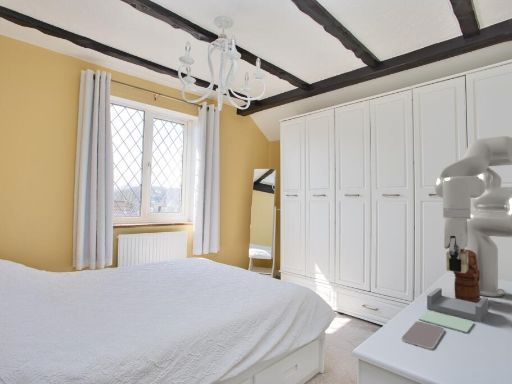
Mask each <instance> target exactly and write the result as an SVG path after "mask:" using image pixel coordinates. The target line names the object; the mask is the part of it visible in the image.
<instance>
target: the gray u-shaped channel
mask: <svg viewBox="0 0 512 384" xmlns="http://www.w3.org/2000/svg"><path fill="white" fill-rule="evenodd" d="M442 292H443V289H442V288H440V287H437V288H435V289H434V290H433V291H431V292H430V293H429V294H426V308H427V309H426V310H429V309H430V310H429V311H433V310H434V311H433V312H437V311H438V312H437V313H440V314H444V315H448V316H452V317H456V318H460V319H464V320H468V321H472V322H473V321H474V322H477V323H481V322H482V321H483V320H484V318H485V317H486V315H487V313H488V312H489V306H488V305H489V304H488V303H489V300H488V296H482V298H481V299H479V301H477V303H474V302H469V301H464V300H460V299H455V297H450V296H445V295H442V294H443V293H442Z"/></svg>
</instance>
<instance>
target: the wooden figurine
mask: <svg viewBox="0 0 512 384" xmlns="http://www.w3.org/2000/svg"><path fill="white" fill-rule="evenodd" d="M465 252H468V271H467V272H466V273H460V272H454V271H452V272H453V274H454V286H453V287H454V298H455V299H460V300H464V301H469V302H474V303H478V302H479V301H480V298H481V295H479V294H480V289H479V283H478V281H479V278H480V272H479V270H478V269H477V268H478V266H477V259H476V254H475V253H474V252H473V251H471V250H467V249H465Z"/></svg>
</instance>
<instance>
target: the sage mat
mask: <svg viewBox="0 0 512 384" xmlns="http://www.w3.org/2000/svg"><path fill="white" fill-rule="evenodd" d="M418 321H420V322H424V323H427V324H431V325H435V326H439V327H442V328H446V329H450V330H453V331H457V332H461V333H464V334H468V333H469V331H470V330H471V328H473V326H474V325H475V321H474V322H473V321H472V320H468V319H464V318H460V317H456V316H452V315H448V314H444V313H440V312H436V311H432V310H428V311H426V312H425V313H424V314H422V316H420V317H419V318H418Z"/></svg>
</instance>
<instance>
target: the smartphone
mask: <svg viewBox="0 0 512 384" xmlns="http://www.w3.org/2000/svg"><path fill="white" fill-rule="evenodd" d="M445 332H446V331H445V327H442V326H438V325H435V324H431V323H428V322H424V321H420V320H417V321H416V320H415V322H413V323H412V325H411V326H410V327H409V328H408V329H407V330H406V332H405V333H404V334H403V335H402V336H401V338H400V340H401V341H402V342H404V343H406V344H410V345H413V346H414V345H415V346H416V347H418V348H422V349H425V350H429V351H430V350H434V349H435V348H436V346H437V344H438V342H439V341H440V339H441V338H442V337H443V335H444V333H445Z"/></svg>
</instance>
